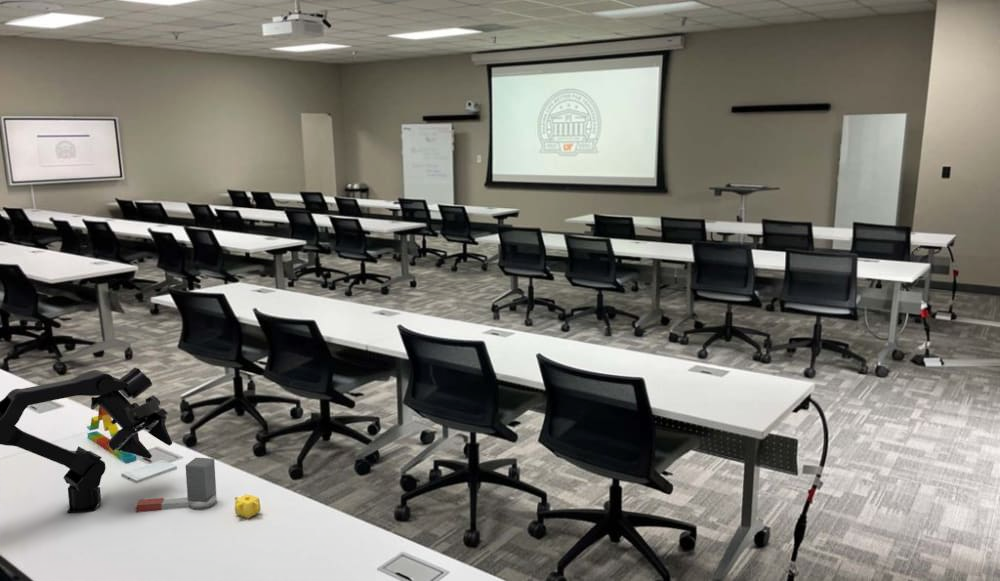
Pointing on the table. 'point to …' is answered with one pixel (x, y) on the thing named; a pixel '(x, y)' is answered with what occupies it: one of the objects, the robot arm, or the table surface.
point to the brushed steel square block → (200, 479)
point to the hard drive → (149, 471)
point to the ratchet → (173, 504)
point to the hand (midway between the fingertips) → (161, 451)
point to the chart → (103, 440)
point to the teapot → (247, 506)
